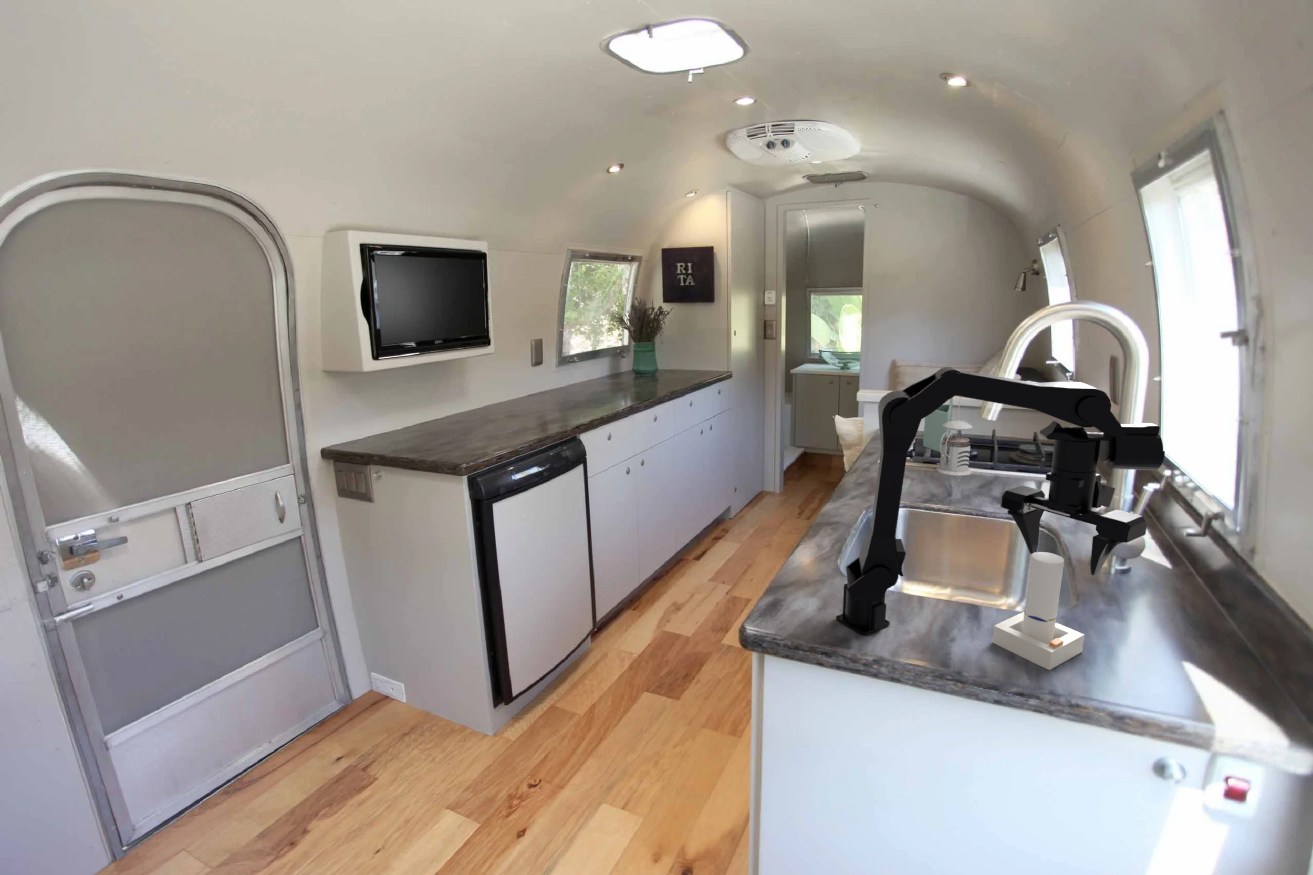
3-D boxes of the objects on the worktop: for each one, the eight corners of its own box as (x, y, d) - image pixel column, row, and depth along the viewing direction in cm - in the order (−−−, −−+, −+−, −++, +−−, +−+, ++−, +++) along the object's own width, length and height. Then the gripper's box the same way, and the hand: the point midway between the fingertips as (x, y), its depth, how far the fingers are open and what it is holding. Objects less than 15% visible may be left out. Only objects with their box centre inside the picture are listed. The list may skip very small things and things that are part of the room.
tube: (1040, 637, 105) (1052, 551, 101) (1057, 652, 100) (1070, 563, 97) (1014, 638, 104) (1025, 552, 101) (1030, 653, 100) (1042, 564, 97)
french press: (978, 471, 193) (986, 388, 187) (956, 478, 187) (963, 392, 181) (947, 464, 201) (954, 384, 195) (925, 471, 195) (931, 388, 189)
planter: (925, 440, 230) (929, 385, 225) (949, 442, 226) (954, 386, 222) (920, 451, 216) (924, 393, 211) (946, 454, 212) (951, 394, 207)
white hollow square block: (992, 642, 104) (994, 622, 103) (1025, 626, 108) (1027, 607, 108) (1049, 670, 96) (1052, 648, 96) (1082, 651, 101) (1085, 631, 100)
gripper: (1173, 472, 93) (1157, 572, 97) (1043, 446, 109) (1033, 533, 113) (1132, 486, 88) (1118, 592, 92) (1002, 457, 104) (994, 548, 108)
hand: (1062, 563), depth 101 cm, fingers open, 9 cm apart
